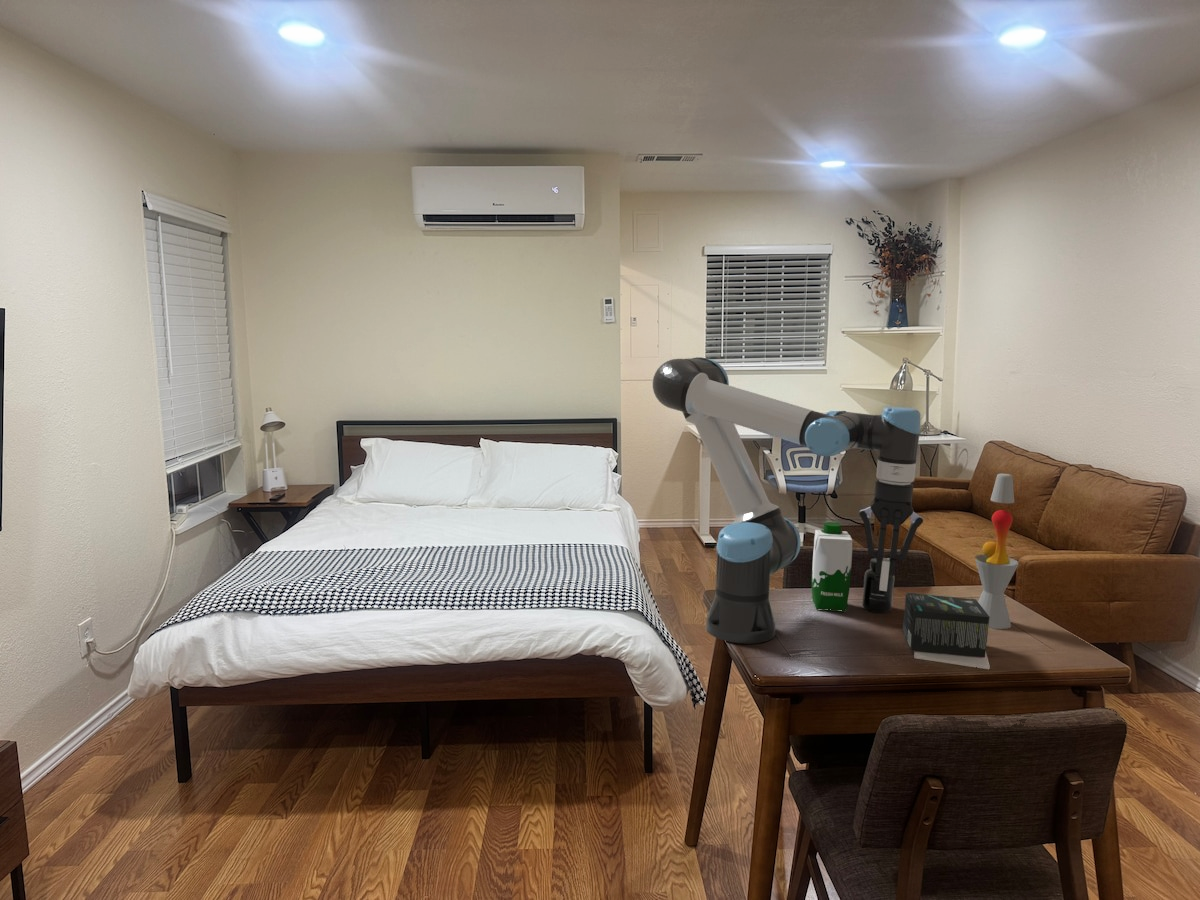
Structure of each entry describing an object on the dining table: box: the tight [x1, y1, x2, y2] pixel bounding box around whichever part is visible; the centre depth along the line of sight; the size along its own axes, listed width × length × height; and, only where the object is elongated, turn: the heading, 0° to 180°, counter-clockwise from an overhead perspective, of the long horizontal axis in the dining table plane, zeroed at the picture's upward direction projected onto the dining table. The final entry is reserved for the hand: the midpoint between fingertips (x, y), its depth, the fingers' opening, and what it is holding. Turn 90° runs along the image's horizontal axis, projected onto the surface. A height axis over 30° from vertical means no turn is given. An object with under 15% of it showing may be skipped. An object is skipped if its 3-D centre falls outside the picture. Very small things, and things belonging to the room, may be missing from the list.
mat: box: [913, 651, 991, 670], centre depth 166 cm, size 14×13×1 cm
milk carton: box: [811, 521, 853, 612], centre depth 191 cm, size 9×9×20 cm
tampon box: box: [902, 592, 990, 657], centre depth 167 cm, size 11×9×15 cm
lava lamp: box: [974, 473, 1019, 630], centre depth 181 cm, size 9×9×35 cm
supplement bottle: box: [861, 557, 895, 614], centre depth 191 cm, size 7×7×12 cm
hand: (883, 588), depth 169 cm, fingers closed
